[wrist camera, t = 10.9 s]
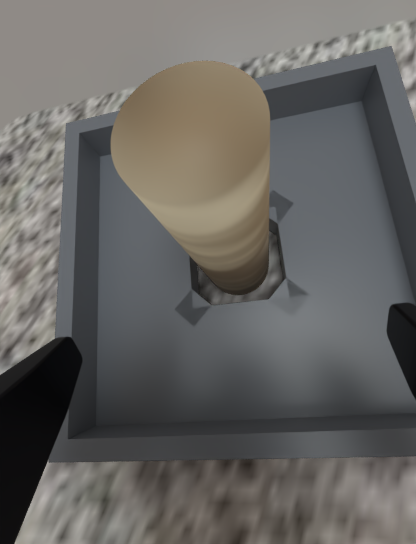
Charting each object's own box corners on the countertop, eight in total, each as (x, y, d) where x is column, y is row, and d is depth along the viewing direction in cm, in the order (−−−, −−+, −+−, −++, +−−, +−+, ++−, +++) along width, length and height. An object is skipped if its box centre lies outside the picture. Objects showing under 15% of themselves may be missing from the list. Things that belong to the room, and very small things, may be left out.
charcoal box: (448, 423, 15) (519, 454, 11) (98, 435, 19) (48, 462, 14) (365, 108, 20) (391, 46, 16) (102, 163, 24) (66, 123, 19)
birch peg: (252, 305, 19) (220, 229, 6) (198, 279, 20) (82, 170, 7) (278, 251, 19) (299, 81, 7) (225, 228, 20) (158, 47, 8)
